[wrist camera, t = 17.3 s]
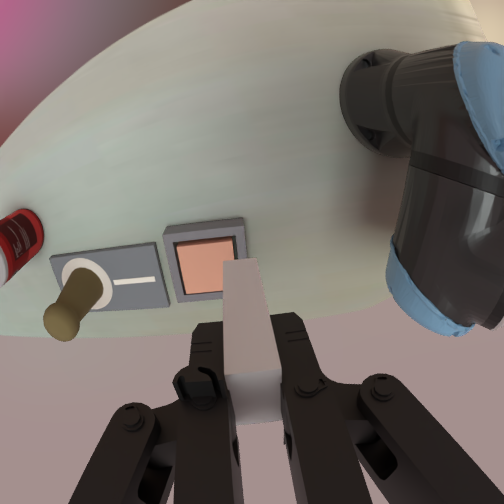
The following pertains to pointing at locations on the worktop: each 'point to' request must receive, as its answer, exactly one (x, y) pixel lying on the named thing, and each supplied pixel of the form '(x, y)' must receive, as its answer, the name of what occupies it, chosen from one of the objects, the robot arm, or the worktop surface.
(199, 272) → the button
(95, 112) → the worktop surface
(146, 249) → the slate board
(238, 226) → the button housing
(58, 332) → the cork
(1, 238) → the canned food
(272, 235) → the worktop surface
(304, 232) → the worktop surface
